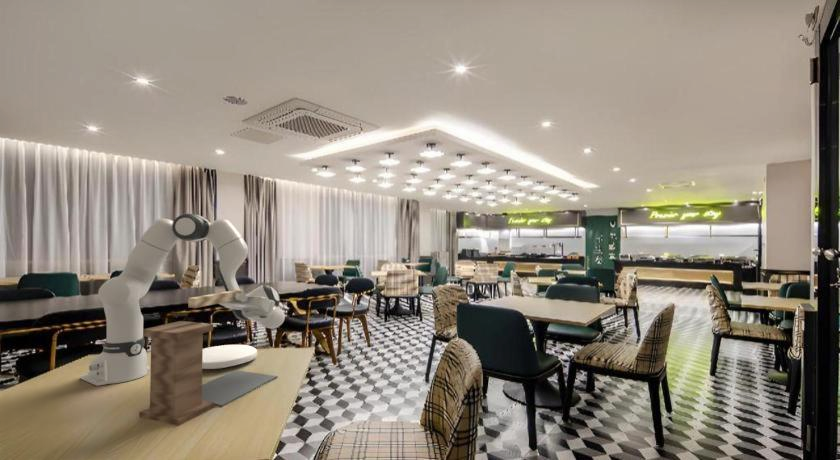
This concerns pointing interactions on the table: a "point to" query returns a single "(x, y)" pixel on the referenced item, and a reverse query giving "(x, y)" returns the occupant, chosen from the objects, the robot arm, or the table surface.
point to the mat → (233, 386)
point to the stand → (176, 372)
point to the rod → (212, 299)
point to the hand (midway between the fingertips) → (230, 294)
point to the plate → (227, 356)
